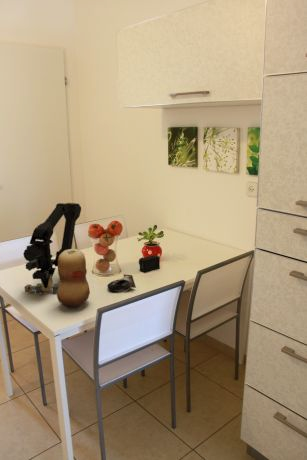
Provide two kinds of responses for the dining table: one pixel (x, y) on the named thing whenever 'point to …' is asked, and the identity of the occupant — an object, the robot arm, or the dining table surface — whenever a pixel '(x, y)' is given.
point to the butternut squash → (72, 278)
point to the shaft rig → (40, 288)
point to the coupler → (48, 284)
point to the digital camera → (149, 263)
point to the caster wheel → (122, 284)
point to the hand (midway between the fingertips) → (47, 285)
